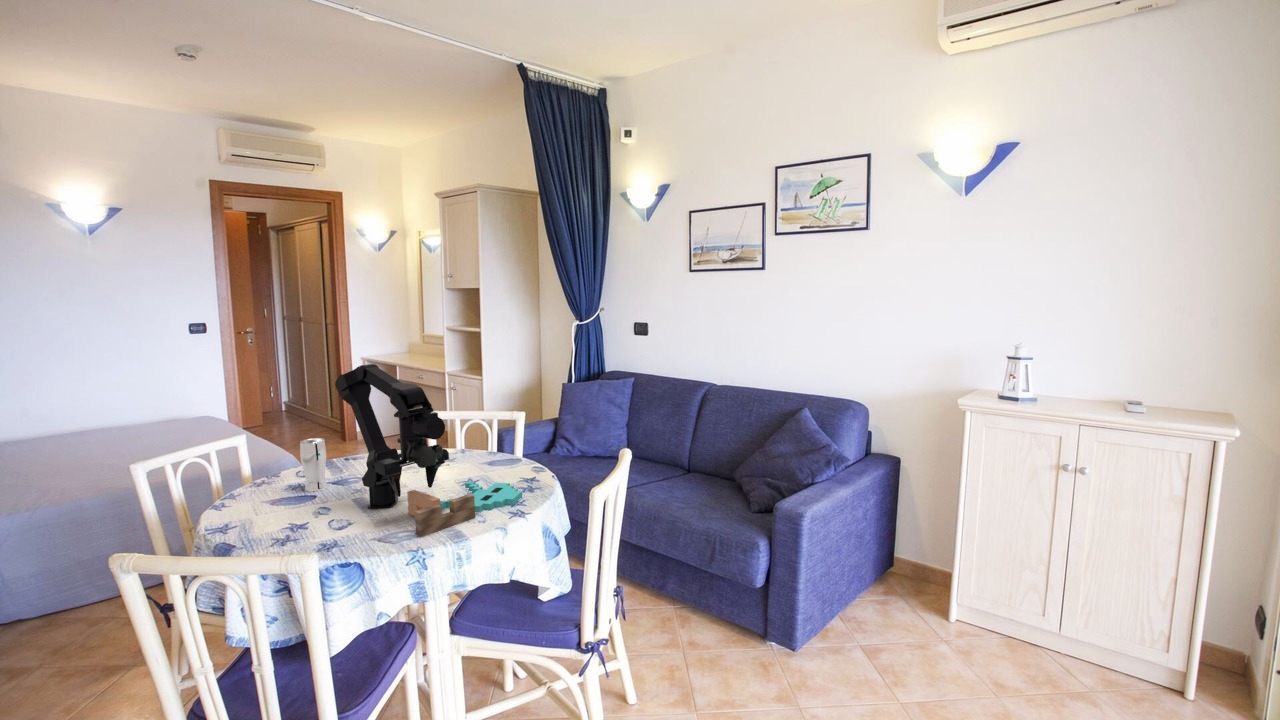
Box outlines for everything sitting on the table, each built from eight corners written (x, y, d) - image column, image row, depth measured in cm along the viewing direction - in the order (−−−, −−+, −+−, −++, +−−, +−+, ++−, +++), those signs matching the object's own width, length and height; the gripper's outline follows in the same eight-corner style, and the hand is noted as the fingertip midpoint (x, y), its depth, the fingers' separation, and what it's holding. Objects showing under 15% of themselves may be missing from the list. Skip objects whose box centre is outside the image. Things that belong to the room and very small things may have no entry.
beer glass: (297, 491, 188) (293, 442, 186) (314, 484, 195) (311, 437, 193) (317, 493, 186) (313, 443, 185) (334, 485, 193) (330, 438, 191)
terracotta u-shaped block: (441, 521, 162) (439, 498, 161) (434, 523, 161) (432, 500, 160) (415, 511, 170) (414, 489, 169) (408, 513, 168) (407, 491, 167)
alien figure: (434, 511, 171) (503, 515, 167) (434, 503, 170) (502, 507, 166) (468, 488, 190) (531, 491, 186) (468, 481, 190) (530, 484, 186)
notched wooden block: (420, 537, 152) (419, 513, 151) (416, 535, 153) (414, 511, 153) (475, 517, 164) (474, 495, 164) (470, 515, 166) (469, 493, 165)
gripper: (394, 446, 153) (398, 508, 155) (459, 432, 167) (462, 488, 169) (371, 440, 160) (375, 499, 162) (435, 426, 174) (438, 480, 176)
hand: (414, 491), depth 167 cm, fingers open, 9 cm apart
